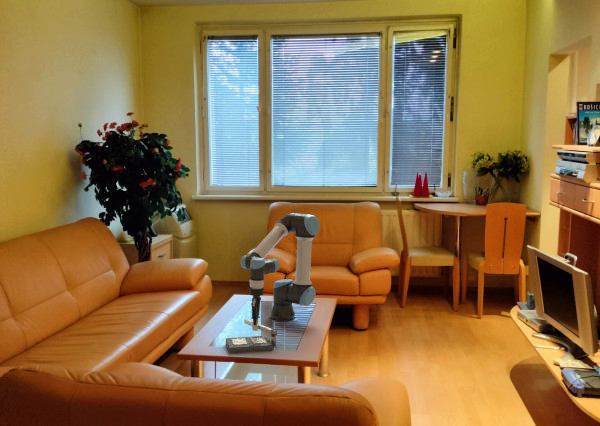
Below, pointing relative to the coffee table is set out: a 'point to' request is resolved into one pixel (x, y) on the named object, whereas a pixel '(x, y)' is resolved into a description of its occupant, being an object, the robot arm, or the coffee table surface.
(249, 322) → the ball-tipped flat stick
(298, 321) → the coffee table surface
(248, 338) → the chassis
